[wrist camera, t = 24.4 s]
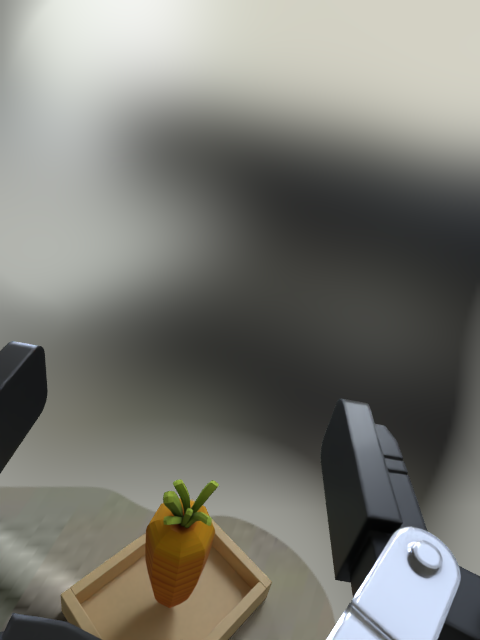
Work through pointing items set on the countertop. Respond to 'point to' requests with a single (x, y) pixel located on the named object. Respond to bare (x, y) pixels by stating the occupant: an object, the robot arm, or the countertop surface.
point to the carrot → (178, 544)
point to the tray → (156, 619)
